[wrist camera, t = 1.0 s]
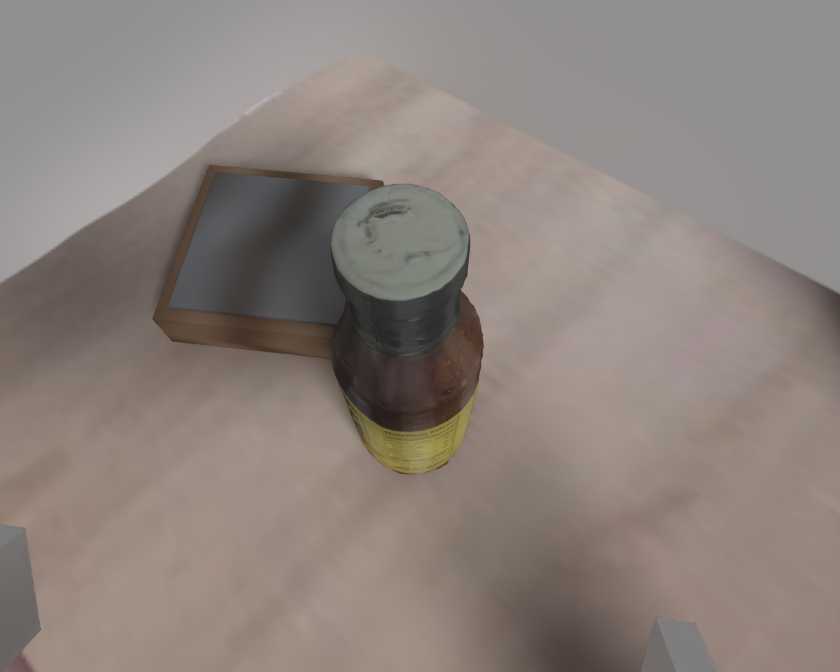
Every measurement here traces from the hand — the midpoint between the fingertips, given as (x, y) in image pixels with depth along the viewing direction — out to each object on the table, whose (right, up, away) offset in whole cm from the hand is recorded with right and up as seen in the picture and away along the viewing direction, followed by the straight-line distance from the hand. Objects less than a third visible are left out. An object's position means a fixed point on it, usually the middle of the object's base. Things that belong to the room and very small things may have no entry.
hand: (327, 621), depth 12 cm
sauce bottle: (+1, 0, +22) cm, 22 cm away
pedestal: (-7, +10, +27) cm, 30 cm away
